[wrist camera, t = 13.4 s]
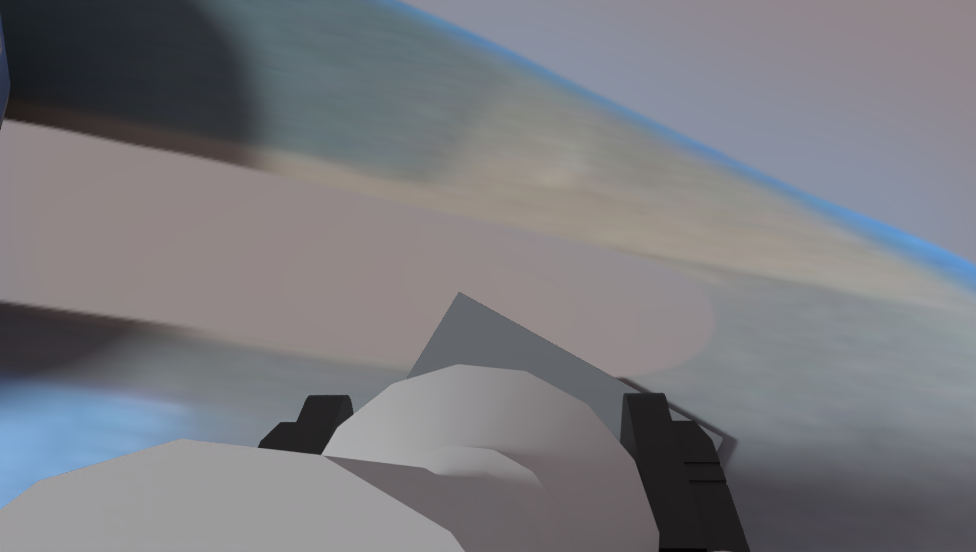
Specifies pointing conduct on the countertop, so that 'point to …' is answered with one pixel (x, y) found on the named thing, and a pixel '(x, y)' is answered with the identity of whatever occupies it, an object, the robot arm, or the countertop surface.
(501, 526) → the bottle
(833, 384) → the countertop surface
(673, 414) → the slate mat
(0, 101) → the ramen bowl
